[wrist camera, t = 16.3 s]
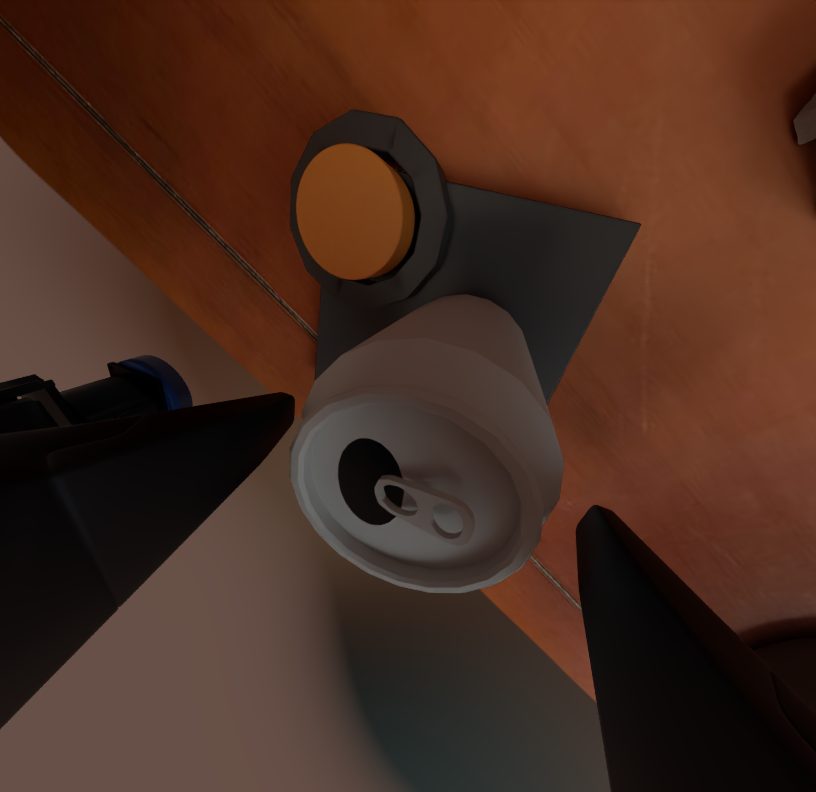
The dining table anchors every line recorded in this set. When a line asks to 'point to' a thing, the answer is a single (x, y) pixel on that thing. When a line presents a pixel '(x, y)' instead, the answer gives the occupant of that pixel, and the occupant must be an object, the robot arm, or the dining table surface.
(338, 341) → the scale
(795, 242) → the dining table surface
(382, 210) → the button
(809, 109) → the egg carton
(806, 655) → the vase
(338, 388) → the can
